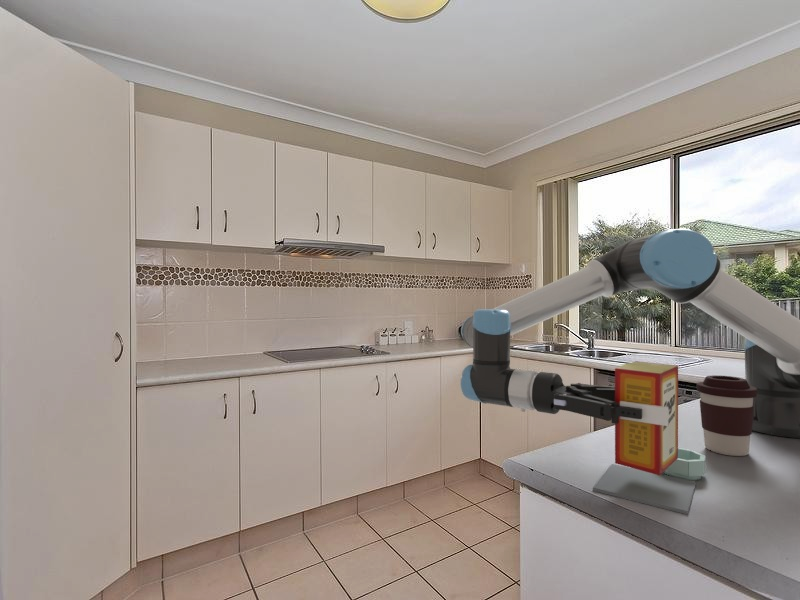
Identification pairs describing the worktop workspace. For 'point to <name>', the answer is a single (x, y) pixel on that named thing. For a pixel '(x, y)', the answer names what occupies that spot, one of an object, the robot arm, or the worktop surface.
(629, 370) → the baking soda box
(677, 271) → the robot arm
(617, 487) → the mat
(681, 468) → the bowl
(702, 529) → the worktop surface
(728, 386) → the coffee cup
